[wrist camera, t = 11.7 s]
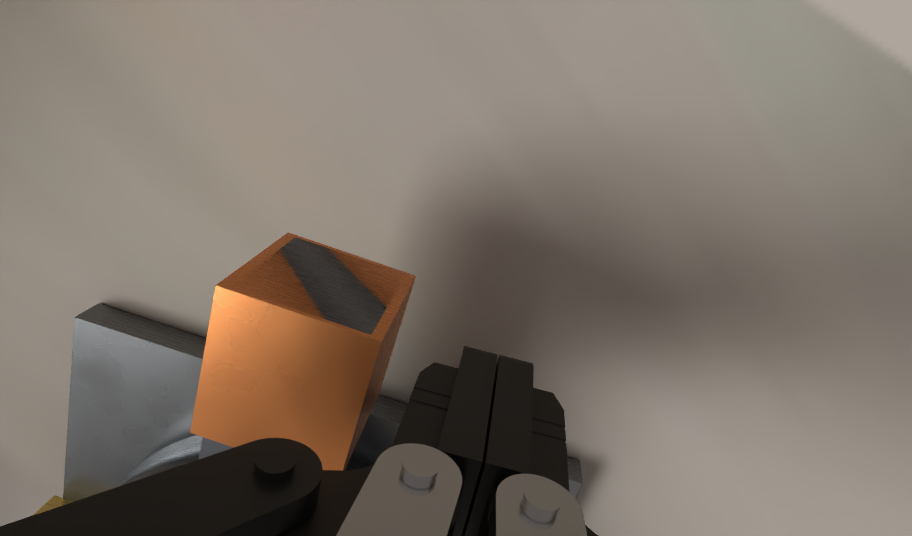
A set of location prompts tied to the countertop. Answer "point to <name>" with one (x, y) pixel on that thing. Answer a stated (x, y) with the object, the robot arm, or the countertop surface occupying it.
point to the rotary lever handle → (298, 349)
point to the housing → (159, 406)
